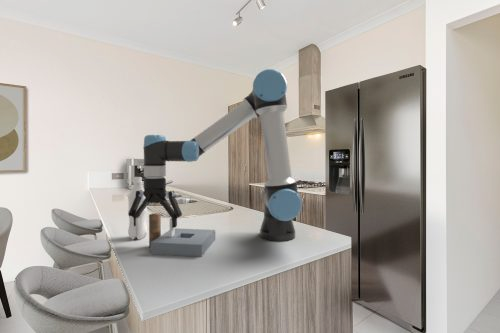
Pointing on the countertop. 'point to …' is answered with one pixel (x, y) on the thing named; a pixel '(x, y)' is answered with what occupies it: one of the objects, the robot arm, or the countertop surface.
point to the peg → (154, 227)
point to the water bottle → (131, 197)
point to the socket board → (184, 242)
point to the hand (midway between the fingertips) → (155, 235)
